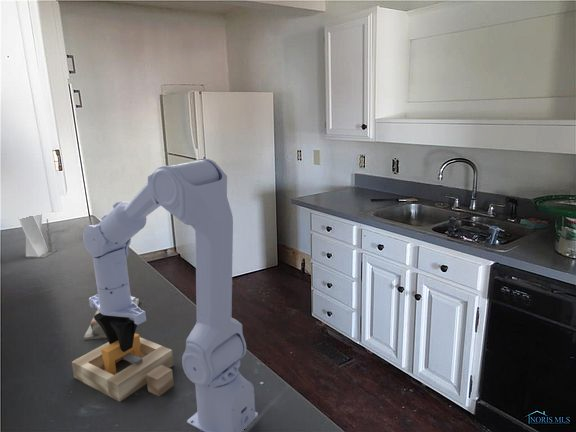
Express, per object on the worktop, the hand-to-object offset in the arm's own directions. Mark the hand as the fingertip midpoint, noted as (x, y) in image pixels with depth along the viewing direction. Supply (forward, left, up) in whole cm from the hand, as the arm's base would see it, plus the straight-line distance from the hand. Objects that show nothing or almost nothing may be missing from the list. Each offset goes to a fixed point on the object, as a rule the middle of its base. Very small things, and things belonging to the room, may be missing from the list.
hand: (121, 346), depth 85 cm
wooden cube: (-10, 0, -6) cm, 12 cm away
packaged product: (+21, -13, -7) cm, 26 cm away
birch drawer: (0, 0, -6) cm, 6 cm away
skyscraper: (+87, -30, -6) cm, 92 cm away
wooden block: (0, 0, -5) cm, 5 cm away
